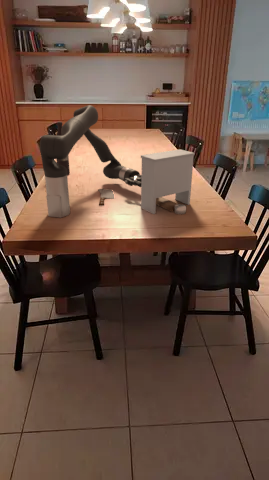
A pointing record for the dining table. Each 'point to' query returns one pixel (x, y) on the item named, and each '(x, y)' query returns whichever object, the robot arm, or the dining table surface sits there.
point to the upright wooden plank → (166, 203)
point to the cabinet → (166, 177)
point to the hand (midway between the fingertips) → (148, 183)
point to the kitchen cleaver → (105, 195)
